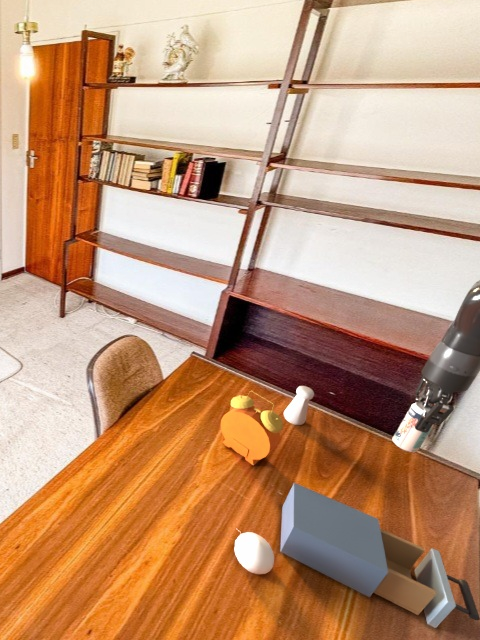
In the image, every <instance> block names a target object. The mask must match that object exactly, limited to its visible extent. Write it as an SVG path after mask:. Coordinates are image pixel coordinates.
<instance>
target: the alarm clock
mask: <svg viewBox="0 0 480 640" xmlns="http://www.w3.org/2000/svg"><path fill="white" fill-rule="evenodd" d="M251 392H252V394H255V395H257V396H258V397H260V398H262V399H264V400H265V401H267V402H268V403H270V404H272V405H273V406H272V409H271V410H270V409H267V410H264V409H262V408H260V407H259V406H256V405H255V401H254V400H253V398H252V397H250V396H249V395H250V394H251ZM230 406H231V407H232V409H231V410H229V411H228V412H226V413H225V414H223V416H222V418H221V420H220V430H221V434H222V436H223V438H224V440H223V441H221V443H222V444H224V446H226V447H227V448H231V449H232V450H234V452H236V453H237V454H239V455H241V456H242V457H243V458H244V459H245V461H246V462H247V463H249V464H251V465H252V466H255V465H256V464H257V463H258V462H259V461H261V460H262V459H264V458H266V457H268V456H269V454H271V453H272V452H273V451H274V450H275V449H276V448H277V446H279V444H280V440H281V434H280V432H281V431H282V430H283V428H284V422H283V420H282V417H281V416H280V415H279V414H278V413H276V411H274V407H275V404H274V402H271V401H270V400H269V399H266V398H265V397H263V396H262V395H260V394H258V393H257V392H255V391H253V390H250V391H249V392H248V395H241V394H239V395H238V396H234V397H232V398H231V400H230Z"/></svg>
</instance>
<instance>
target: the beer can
mask: <svg viewBox="0 0 480 640" xmlns="http://www.w3.org/2000/svg"><path fill="white" fill-rule="evenodd" d="M422 404H423V402H417V401H415V403H412V404H411V406H410V407H409V408H408V411H407V412H406V414H405V416H404V418H403V419H402V421H401V422H400V424H399V426H398V428H397V430H396V431H395V433H394V434H393V436H392V438H391V439H392V442H393V443H394V444H395V445H396V446H397V447H398V448H399V449H401V450H403V451H406V452H410V453H416V452H418V451H419V450H420V448H421V446H422V445H423V443H424V442H425V440H426V439H427V437H428V435H430V432H431V431H432V429H433V428H434V426H435V425H436V423H433V425H432V426H431V428H430V430H429V431H428V432H427V433H424V432H421V431H418V430H416V429H415V424H416V423H417V421H418V420H419V418H420V416H421V414H422V412H423V409H424V407H423V406H422ZM429 411H430V410H429ZM429 411H428V412H429Z"/></svg>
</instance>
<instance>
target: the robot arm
mask: <svg viewBox="0 0 480 640" xmlns="http://www.w3.org/2000/svg"><path fill="white" fill-rule="evenodd" d="M459 306H460V307H459V308H458V311H457V313H456V316H455V317H454V319H453V321H451V322H450V324H449V326H448V328H447V329H446V330H445V333H444V334H443V336H442V338H441V339H440V340H439V342H438V343H437V344H436V345H435V347H434V349H433V350H432V352H431V354H430V356H429V357H428V359H427V360H426V362H425V364H424V366H423V368H422V369H421V379H420V380H419V383H418V385H417V388H416V390H415V391H414V394H415V396H416V397H415V402H423V404H422V406H423V407H424V409H423V412H422V414H421V416H420V418H419V420H418V421H417V423H416V424H415V429H416V430H418V431H421V432H424V433H427V432H428V431H429V430H430V428H431V426H432V425H433V423H435V425H439V426H441V425H442V424H443V423H444V421H445V420H446V419H448V417H449V416H450V415H451V414H452V413H453V412H454V411H455V407H454V406H453V405H449V403H451V402H452V399H453V394H454V393H462V392H463V393H464V392H467V391H468V390H469V389H470V387H471V386H472V384H473V382H474V380H476V378H477V376H478V374H479V372H480V279H479V280H477V281H476V282H475V283H473V285H471V288H470V289H469V290H468V292H467V293H466V295H465V296H464V298H463V301H462V302H461V304H460V305H459ZM429 410H430V411H429ZM428 411H429V412H428Z"/></svg>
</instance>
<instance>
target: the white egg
mask: <svg viewBox="0 0 480 640" xmlns="http://www.w3.org/2000/svg"><path fill="white" fill-rule="evenodd" d="M237 531H238V532H239V533H240V534H239V535H238V536H237V537H236V538H235V540H234V548H233V549H234V554H235V557H236V558H237V561H238V563H239V564H240V565H241V566H242V567H243V568H244V569H245V570H246V571H248V572H250V573H252V574H255V575H266V574H267V573H269V572H270V571H271V570H272V569H273V568H274V565H275V555H274V551H273V548H272V546H271V545H270V543H269V542H268V541H267V540H266V539H265V538H264V537H263V536H262V535H259V534H257V533H255V532H252V531H251V532H243V533H241V531H240V530H238V529H237Z"/></svg>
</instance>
